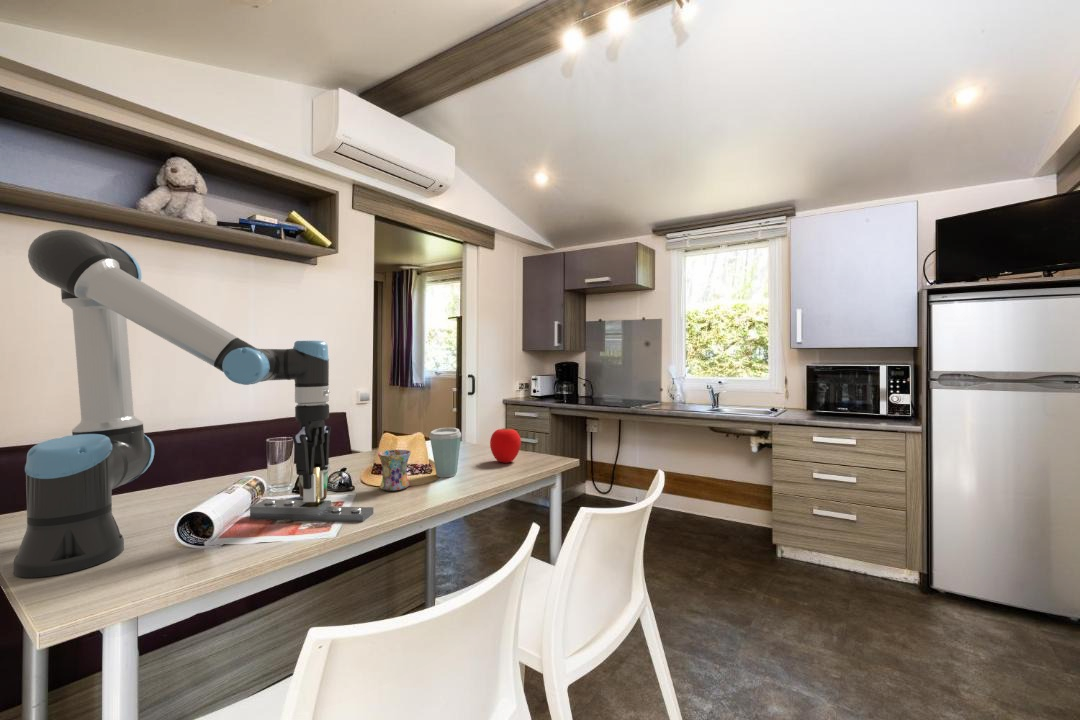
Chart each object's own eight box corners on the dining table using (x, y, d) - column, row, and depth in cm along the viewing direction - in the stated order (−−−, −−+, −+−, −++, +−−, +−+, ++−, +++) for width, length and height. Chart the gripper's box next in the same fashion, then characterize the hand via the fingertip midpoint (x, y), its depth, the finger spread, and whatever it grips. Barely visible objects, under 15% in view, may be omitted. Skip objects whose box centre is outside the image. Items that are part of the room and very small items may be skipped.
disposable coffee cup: (458, 479, 150) (458, 432, 150) (425, 479, 150) (424, 432, 150) (464, 471, 161) (464, 427, 161) (433, 471, 161) (432, 427, 161)
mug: (416, 488, 141) (416, 452, 140) (387, 494, 134) (387, 457, 134) (397, 480, 149) (396, 447, 149) (368, 486, 142) (368, 451, 142)
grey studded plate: (373, 513, 118) (373, 499, 118) (362, 521, 112) (362, 507, 112) (266, 511, 120) (265, 497, 120) (250, 519, 114) (249, 504, 114)
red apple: (486, 464, 170) (486, 429, 170) (494, 458, 181) (494, 424, 181) (517, 466, 168) (517, 430, 168) (523, 459, 179) (523, 425, 179)
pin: (316, 518, 115) (315, 469, 115) (304, 518, 115) (303, 469, 115) (322, 514, 118) (322, 466, 118) (310, 514, 118) (310, 466, 118)
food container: (338, 499, 130) (338, 463, 130) (315, 504, 125) (315, 467, 125) (320, 490, 138) (319, 456, 138) (297, 495, 134) (297, 460, 134)
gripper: (309, 407, 108) (310, 510, 108) (342, 400, 124) (344, 489, 124) (277, 407, 108) (278, 509, 109) (315, 400, 124) (316, 489, 124)
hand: (313, 498), depth 116 cm, fingers closed on pin, 3 cm apart
